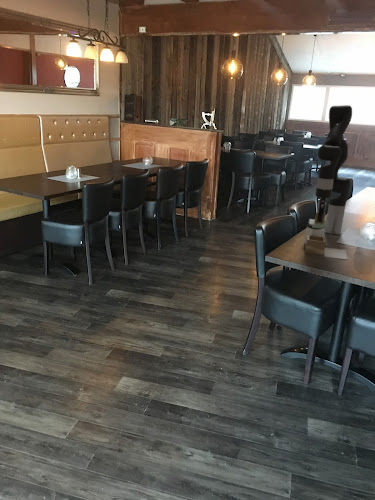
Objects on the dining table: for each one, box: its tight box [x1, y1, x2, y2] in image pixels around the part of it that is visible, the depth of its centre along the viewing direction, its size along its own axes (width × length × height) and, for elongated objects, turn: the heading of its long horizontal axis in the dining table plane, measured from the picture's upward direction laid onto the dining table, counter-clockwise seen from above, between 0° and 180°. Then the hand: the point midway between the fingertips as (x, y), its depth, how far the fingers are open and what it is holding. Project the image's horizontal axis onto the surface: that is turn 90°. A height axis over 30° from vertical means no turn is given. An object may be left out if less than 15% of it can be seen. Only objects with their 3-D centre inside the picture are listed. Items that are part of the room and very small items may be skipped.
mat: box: [324, 247, 348, 261], centre depth 212 cm, size 15×11×1 cm
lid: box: [308, 211, 329, 230], centre depth 209 cm, size 9×9×7 cm
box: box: [304, 235, 327, 256], centre depth 214 cm, size 9×9×7 cm
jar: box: [303, 221, 324, 245], centre depth 225 cm, size 9×8×12 cm
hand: (319, 220), depth 209 cm, fingers closed on lid, 3 cm apart
